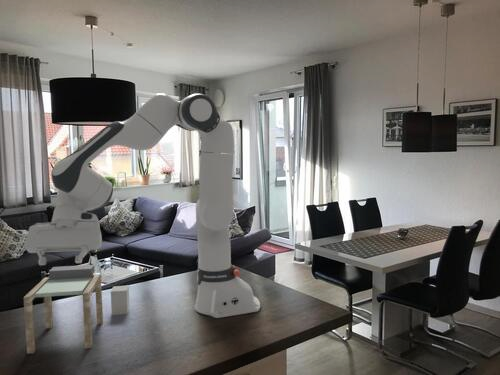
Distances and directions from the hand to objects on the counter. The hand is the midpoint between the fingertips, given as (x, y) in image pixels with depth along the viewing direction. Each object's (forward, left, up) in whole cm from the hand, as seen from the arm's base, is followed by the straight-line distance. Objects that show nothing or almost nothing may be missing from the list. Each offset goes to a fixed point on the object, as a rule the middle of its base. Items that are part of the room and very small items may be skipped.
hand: (60, 263), depth 110 cm
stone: (-12, -20, -23) cm, 33 cm away
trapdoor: (0, -6, -8) cm, 10 cm away
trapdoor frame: (0, -4, -23) cm, 23 cm away
